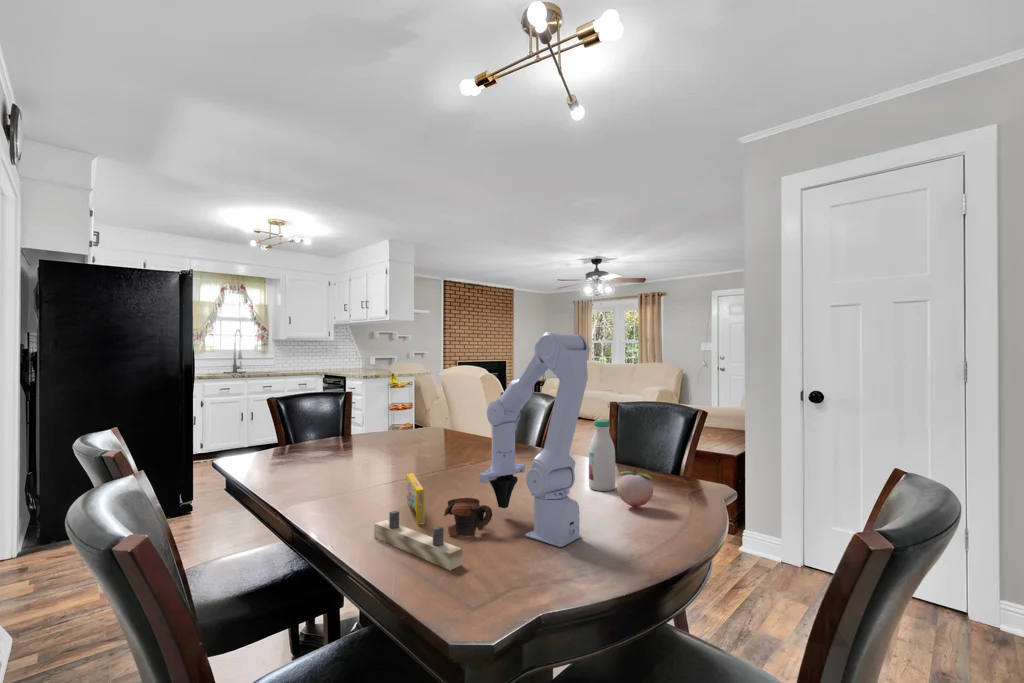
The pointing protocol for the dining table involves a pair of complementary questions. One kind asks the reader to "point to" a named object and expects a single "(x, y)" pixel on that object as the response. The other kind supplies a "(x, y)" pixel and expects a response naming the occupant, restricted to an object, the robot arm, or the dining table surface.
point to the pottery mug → (467, 516)
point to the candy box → (415, 498)
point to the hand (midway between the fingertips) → (503, 507)
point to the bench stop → (419, 542)
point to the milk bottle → (602, 458)
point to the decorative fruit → (635, 488)
